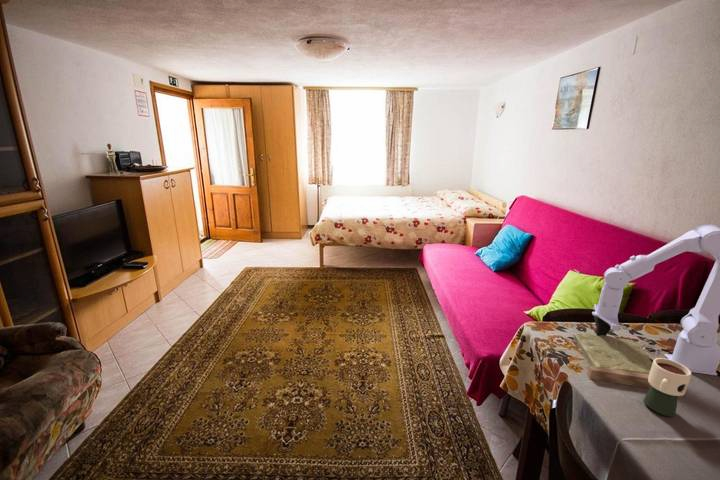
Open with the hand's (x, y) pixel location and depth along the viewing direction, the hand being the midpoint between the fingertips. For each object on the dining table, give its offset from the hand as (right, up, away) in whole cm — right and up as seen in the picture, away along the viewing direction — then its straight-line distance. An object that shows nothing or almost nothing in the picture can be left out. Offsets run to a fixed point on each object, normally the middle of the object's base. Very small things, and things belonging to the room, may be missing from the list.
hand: (600, 337), depth 114 cm
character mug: (-6, -10, -28) cm, 31 cm away
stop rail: (-5, -7, -19) cm, 21 cm away
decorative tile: (-2, -5, -9) cm, 10 cm away
